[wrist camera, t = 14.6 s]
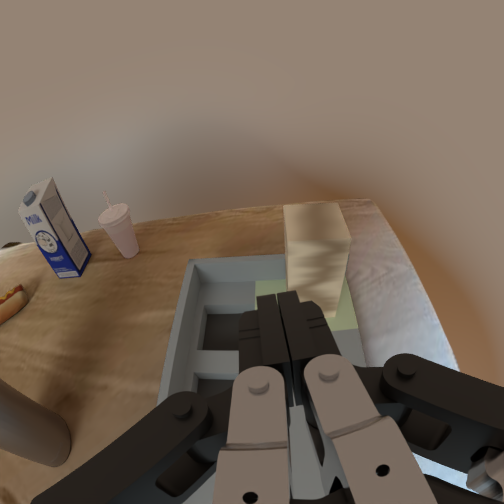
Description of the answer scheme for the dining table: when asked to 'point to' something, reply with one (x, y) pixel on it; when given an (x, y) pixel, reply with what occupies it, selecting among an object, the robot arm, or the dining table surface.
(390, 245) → the dining table surface
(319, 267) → the maple block
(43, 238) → the milk carton
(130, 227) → the smoothie
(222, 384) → the trap deck
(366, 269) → the dining table surface
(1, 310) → the food
